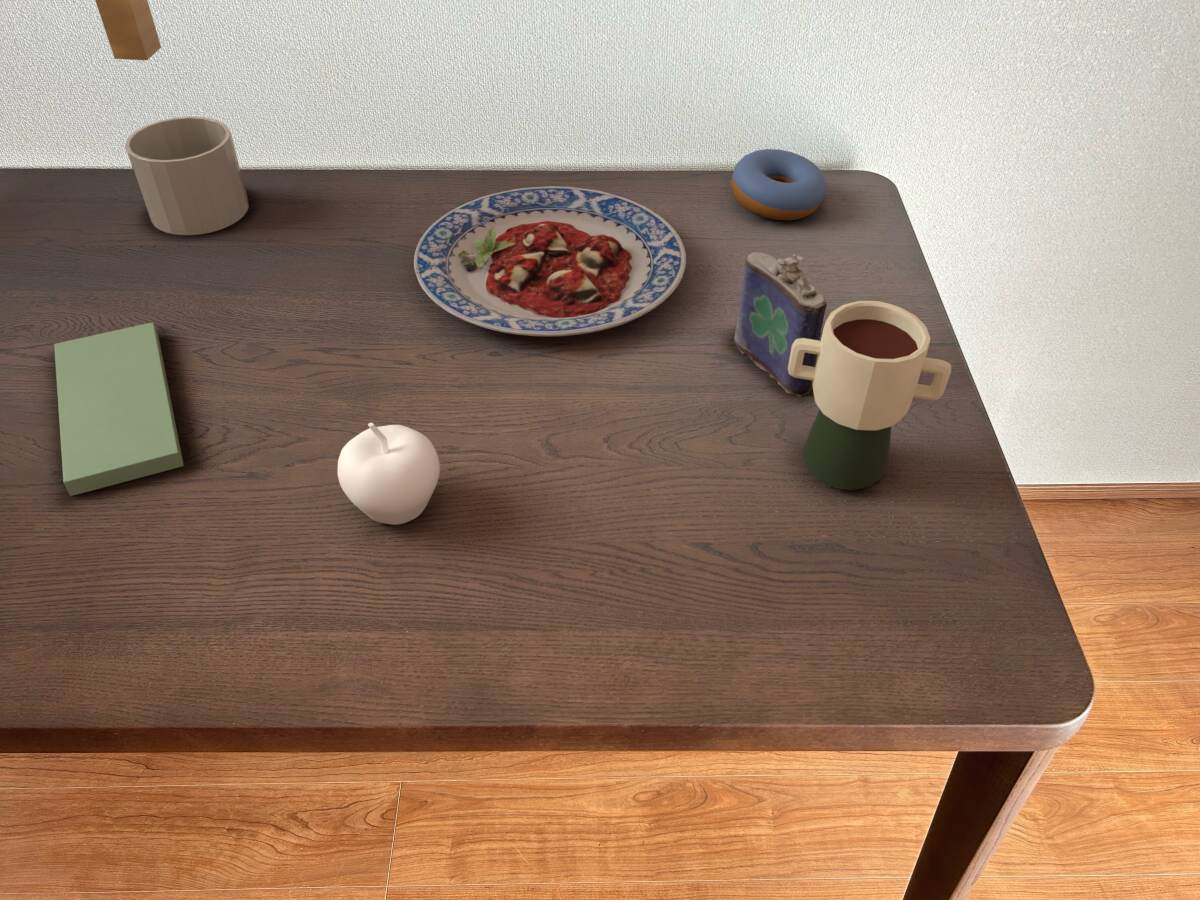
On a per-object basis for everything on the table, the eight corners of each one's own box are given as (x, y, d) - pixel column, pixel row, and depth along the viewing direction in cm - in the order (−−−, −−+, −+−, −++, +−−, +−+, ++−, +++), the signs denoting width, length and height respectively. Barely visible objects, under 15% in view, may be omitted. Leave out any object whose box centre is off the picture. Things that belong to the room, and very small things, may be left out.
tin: (134, 232, 98) (107, 158, 92) (174, 185, 105) (152, 114, 100) (227, 238, 97) (206, 164, 92) (262, 190, 104) (244, 119, 99)
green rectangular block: (60, 357, 83) (53, 343, 82) (158, 335, 86) (153, 321, 85) (70, 496, 71) (63, 482, 70) (184, 466, 74) (178, 452, 73)
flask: (727, 341, 86) (742, 235, 79) (754, 332, 87) (770, 226, 80) (793, 400, 80) (815, 292, 73) (821, 389, 81) (845, 282, 74)
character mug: (915, 448, 76) (959, 312, 67) (913, 512, 71) (961, 374, 62) (776, 424, 78) (802, 288, 69) (765, 485, 73) (791, 347, 64)
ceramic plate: (725, 244, 98) (728, 217, 96) (608, 388, 81) (608, 360, 79) (507, 183, 106) (506, 158, 104) (360, 302, 90) (355, 275, 88)
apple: (365, 467, 74) (348, 386, 68) (456, 479, 73) (445, 398, 68) (332, 534, 69) (310, 453, 63) (428, 548, 68) (415, 467, 63)
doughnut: (841, 213, 102) (849, 173, 99) (765, 236, 99) (771, 196, 96) (784, 173, 109) (790, 134, 106) (710, 194, 105) (714, 154, 102)
